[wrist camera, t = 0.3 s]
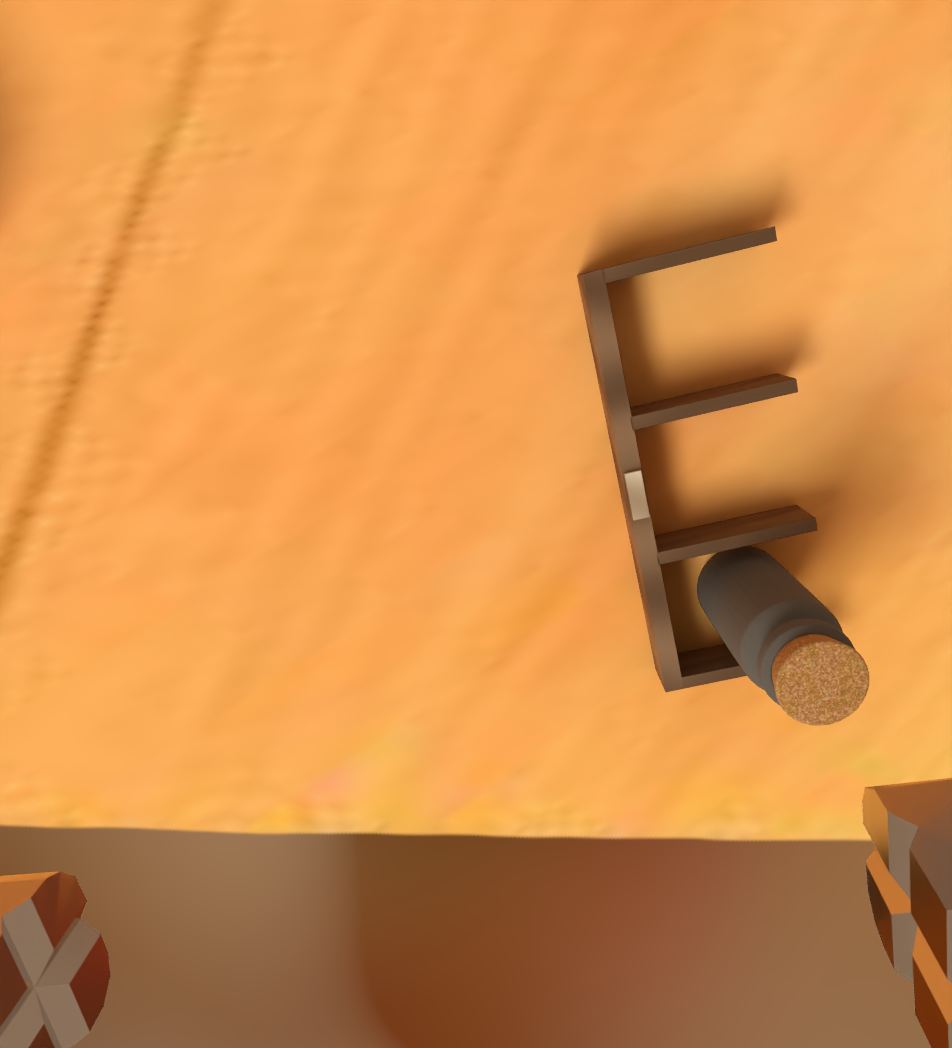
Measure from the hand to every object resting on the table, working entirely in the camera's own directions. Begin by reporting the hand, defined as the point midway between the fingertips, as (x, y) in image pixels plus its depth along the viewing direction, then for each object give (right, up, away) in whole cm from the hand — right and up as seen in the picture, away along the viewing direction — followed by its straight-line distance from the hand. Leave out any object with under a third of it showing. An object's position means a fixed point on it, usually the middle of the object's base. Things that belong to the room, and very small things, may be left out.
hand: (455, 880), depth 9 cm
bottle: (+18, 0, +48) cm, 52 cm away
